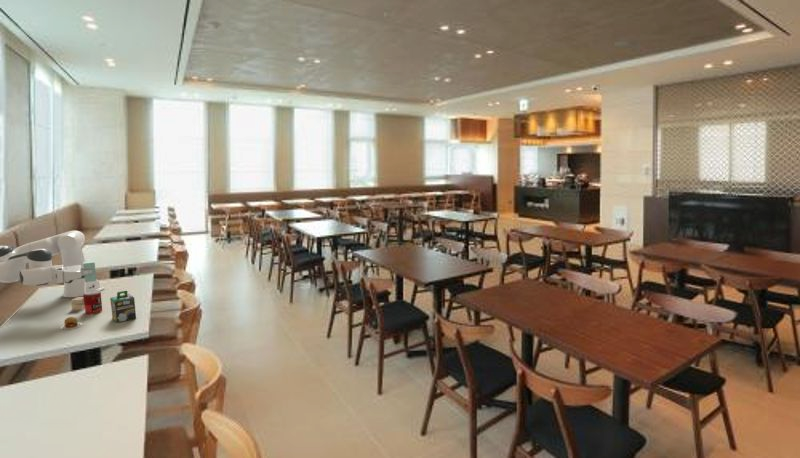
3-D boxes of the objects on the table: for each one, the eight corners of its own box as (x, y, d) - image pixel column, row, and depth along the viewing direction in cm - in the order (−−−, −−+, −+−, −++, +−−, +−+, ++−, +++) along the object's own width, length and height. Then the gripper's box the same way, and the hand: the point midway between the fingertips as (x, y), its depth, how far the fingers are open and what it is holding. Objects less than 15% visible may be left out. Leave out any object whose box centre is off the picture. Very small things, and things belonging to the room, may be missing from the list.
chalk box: (131, 314, 241) (129, 287, 239) (136, 318, 235) (134, 290, 233) (111, 318, 235) (109, 291, 233) (116, 323, 228) (113, 294, 226)
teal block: (85, 280, 244) (83, 261, 243) (96, 278, 247) (94, 260, 246) (85, 282, 240) (83, 263, 239) (96, 280, 243) (94, 262, 242)
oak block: (77, 307, 253) (76, 297, 252) (87, 307, 254) (85, 296, 253) (72, 310, 248) (71, 300, 248) (82, 310, 249) (81, 299, 248)
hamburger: (78, 322, 232) (77, 311, 231) (91, 326, 226) (90, 315, 225) (51, 329, 221) (50, 318, 221) (63, 334, 215) (62, 322, 215)
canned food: (94, 314, 242) (92, 294, 240) (81, 313, 243) (79, 293, 242) (106, 310, 249) (104, 290, 248) (93, 309, 251) (91, 289, 249)
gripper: (61, 275, 245) (92, 272, 252) (59, 283, 228) (92, 279, 236) (59, 264, 244) (90, 261, 251) (58, 271, 227) (91, 267, 235)
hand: (91, 270), depth 243 cm, fingers closed on teal block, 5 cm apart
